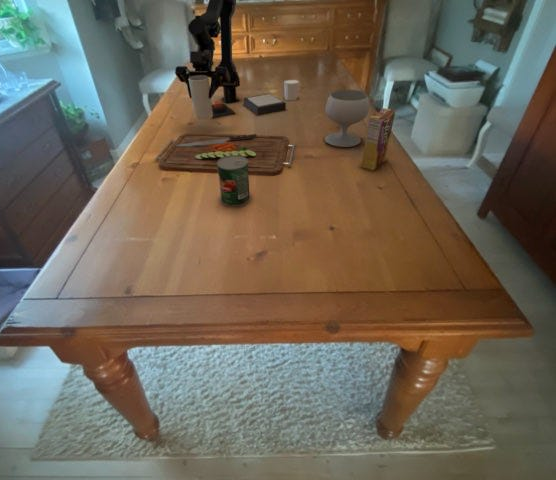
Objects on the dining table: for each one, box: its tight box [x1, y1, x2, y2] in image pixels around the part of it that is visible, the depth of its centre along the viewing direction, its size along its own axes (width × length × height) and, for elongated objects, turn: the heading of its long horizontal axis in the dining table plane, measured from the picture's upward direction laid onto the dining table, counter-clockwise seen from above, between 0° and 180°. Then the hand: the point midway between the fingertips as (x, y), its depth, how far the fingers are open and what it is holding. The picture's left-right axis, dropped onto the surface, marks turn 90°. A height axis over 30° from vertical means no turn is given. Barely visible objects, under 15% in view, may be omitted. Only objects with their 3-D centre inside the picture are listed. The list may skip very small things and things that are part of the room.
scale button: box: [213, 100, 224, 108], centre depth 146 cm, size 4×4×2 cm
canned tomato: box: [217, 155, 251, 208], centre depth 92 cm, size 8×8×11 cm
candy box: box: [361, 107, 396, 171], centre depth 103 cm, size 9×4×15 cm, turn 140°
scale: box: [242, 92, 287, 117], centre depth 148 cm, size 15×13×3 cm
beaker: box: [189, 75, 213, 121], centre depth 123 cm, size 7×7×13 cm
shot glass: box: [283, 79, 300, 101], centre depth 155 cm, size 7×7×7 cm
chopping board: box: [154, 132, 296, 176], centre depth 116 cm, size 45×27×3 cm, turn 80°
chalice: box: [324, 89, 370, 148], centre depth 116 cm, size 14×14×15 cm
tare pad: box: [211, 103, 236, 119], centre depth 147 cm, size 12×10×2 cm
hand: (199, 98), depth 122 cm, fingers closed on beaker, 7 cm apart
